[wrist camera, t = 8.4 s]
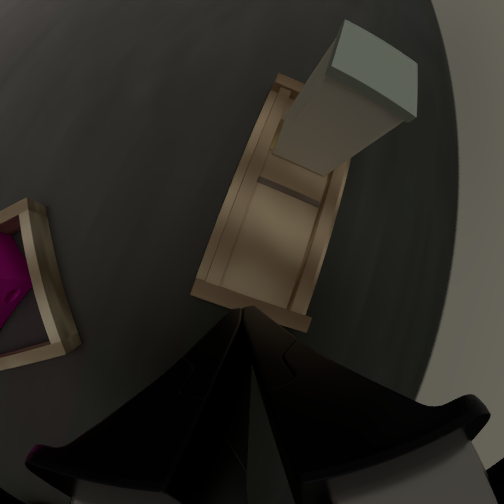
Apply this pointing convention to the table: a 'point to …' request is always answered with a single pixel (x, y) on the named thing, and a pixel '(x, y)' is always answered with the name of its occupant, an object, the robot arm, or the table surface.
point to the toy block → (12, 277)
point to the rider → (348, 101)
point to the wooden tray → (271, 225)
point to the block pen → (40, 284)
